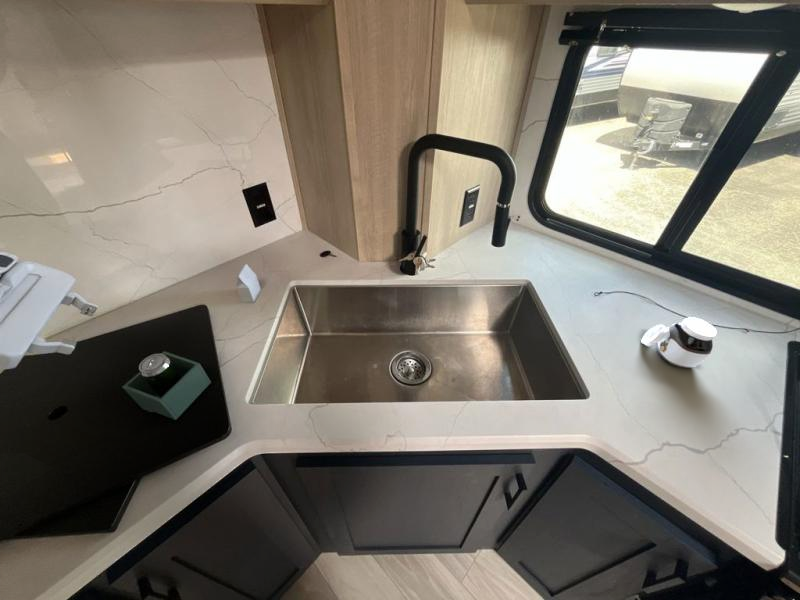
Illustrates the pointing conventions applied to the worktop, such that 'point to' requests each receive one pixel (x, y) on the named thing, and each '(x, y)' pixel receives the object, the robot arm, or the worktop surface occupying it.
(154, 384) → the beer can
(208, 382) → the bin
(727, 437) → the worktop surface
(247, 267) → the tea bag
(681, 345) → the spread jar
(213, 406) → the worktop surface
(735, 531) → the worktop surface
